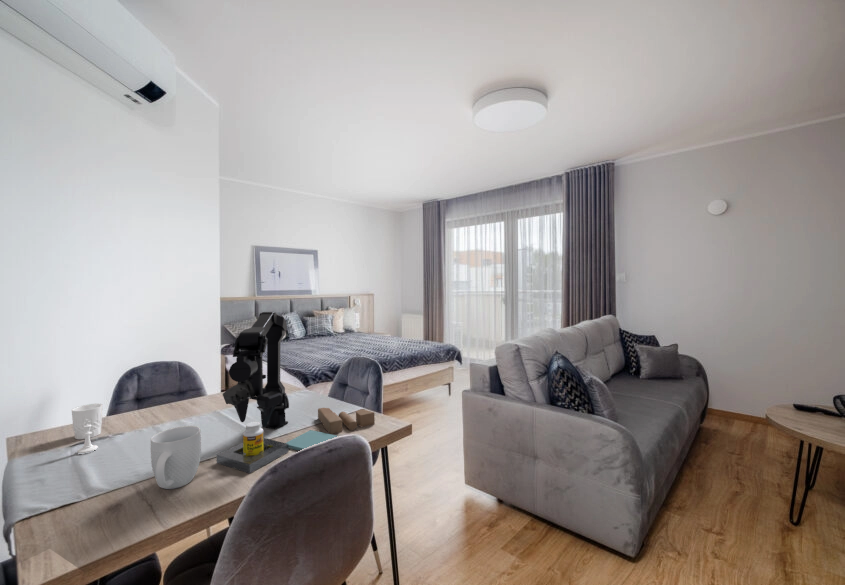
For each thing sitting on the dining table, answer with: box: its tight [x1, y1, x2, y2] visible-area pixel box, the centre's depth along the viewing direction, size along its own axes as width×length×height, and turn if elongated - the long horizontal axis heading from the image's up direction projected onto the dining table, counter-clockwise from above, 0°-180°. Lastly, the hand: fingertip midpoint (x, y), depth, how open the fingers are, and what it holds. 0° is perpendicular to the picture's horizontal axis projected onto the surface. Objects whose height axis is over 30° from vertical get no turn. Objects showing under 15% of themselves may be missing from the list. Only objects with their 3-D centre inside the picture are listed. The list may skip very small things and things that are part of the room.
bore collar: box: [216, 437, 290, 474], centre depth 108 cm, size 14×14×2 cm
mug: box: [150, 425, 202, 490], centre depth 92 cm, size 15×11×13 cm
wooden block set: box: [317, 407, 375, 435], centre depth 136 cm, size 17×6×18 cm
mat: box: [285, 429, 338, 451], centre depth 118 cm, size 12×12×1 cm
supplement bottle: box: [242, 421, 264, 458], centre depth 108 cm, size 6×6×10 cm
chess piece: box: [76, 419, 99, 453], centre depth 113 cm, size 5×5×10 cm
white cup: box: [71, 403, 103, 440], centre depth 125 cm, size 8×8×10 cm
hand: (253, 424), depth 108 cm, fingers open, 9 cm apart
